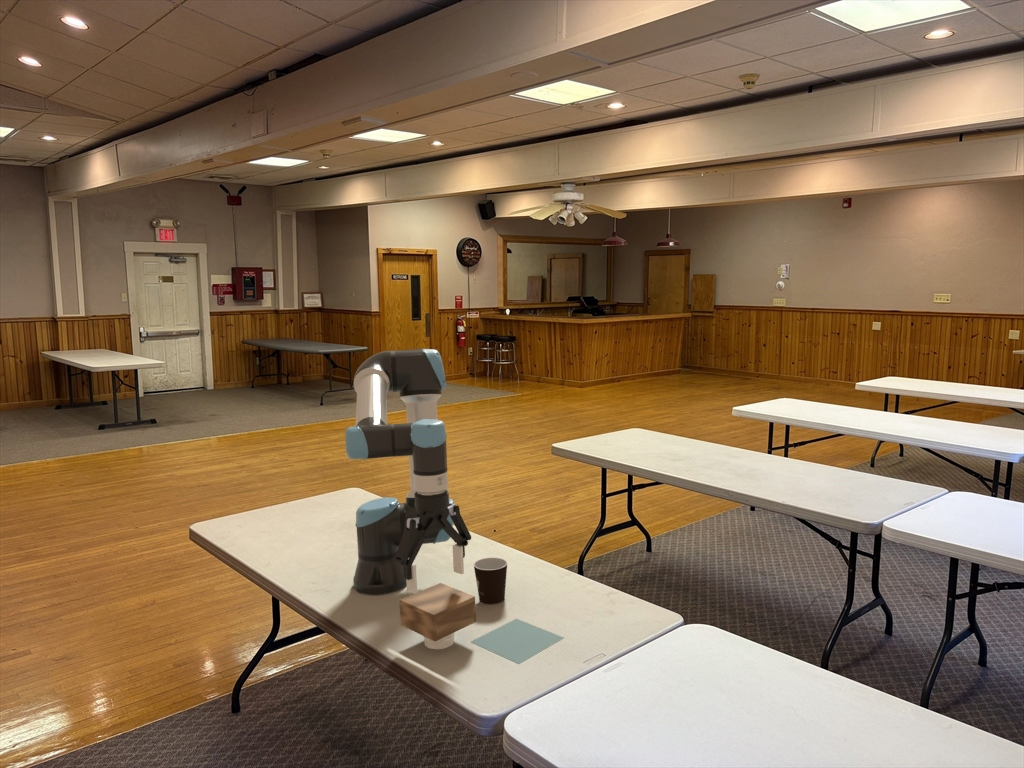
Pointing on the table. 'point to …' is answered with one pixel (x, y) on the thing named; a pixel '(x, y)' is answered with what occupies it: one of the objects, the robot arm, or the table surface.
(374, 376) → the robot arm
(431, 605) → the brown wooden block
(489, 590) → the coffee mug
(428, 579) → the table surface
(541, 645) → the mat
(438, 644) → the white cup
